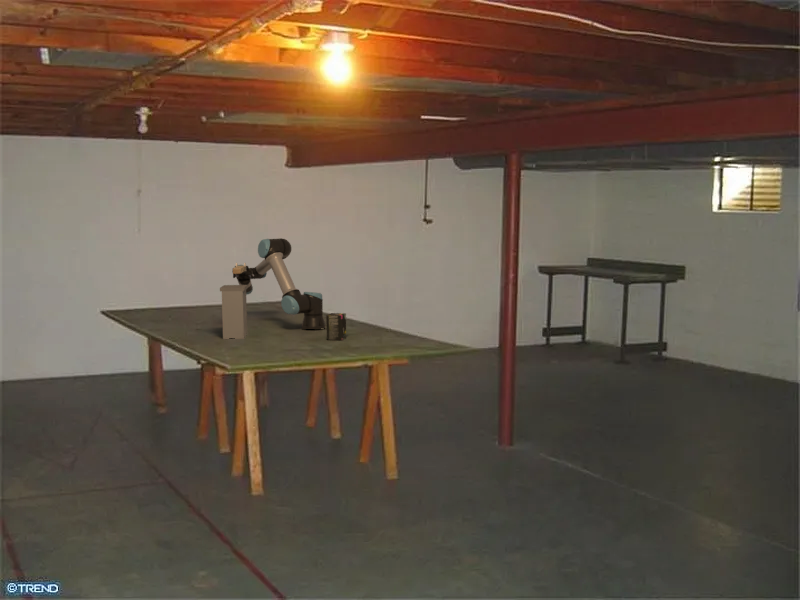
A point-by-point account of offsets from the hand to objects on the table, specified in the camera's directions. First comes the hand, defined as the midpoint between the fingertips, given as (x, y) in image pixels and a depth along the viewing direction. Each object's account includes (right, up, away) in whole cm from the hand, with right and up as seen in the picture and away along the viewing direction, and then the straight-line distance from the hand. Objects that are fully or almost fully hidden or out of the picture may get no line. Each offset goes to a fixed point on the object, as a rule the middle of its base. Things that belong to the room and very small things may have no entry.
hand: (240, 264), depth 560 cm
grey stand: (+2, -44, -30) cm, 53 cm away
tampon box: (+63, -45, -41) cm, 88 cm away
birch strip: (0, -5, -5) cm, 7 cm away
